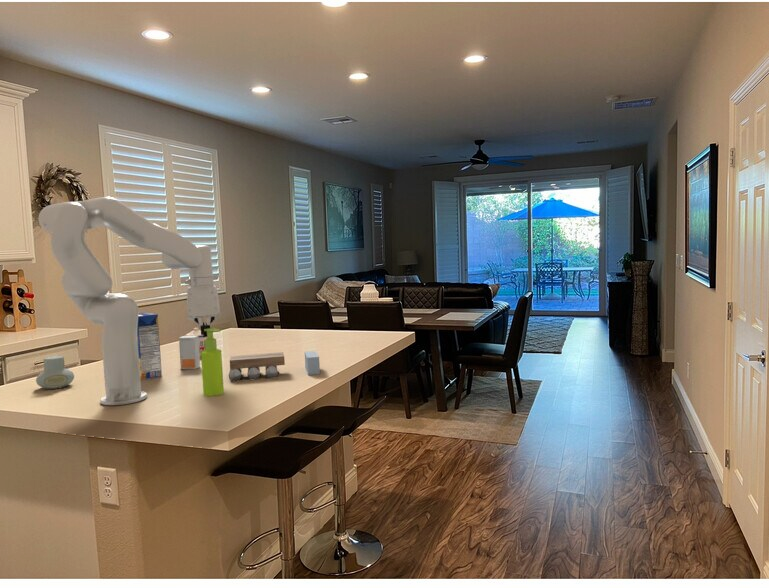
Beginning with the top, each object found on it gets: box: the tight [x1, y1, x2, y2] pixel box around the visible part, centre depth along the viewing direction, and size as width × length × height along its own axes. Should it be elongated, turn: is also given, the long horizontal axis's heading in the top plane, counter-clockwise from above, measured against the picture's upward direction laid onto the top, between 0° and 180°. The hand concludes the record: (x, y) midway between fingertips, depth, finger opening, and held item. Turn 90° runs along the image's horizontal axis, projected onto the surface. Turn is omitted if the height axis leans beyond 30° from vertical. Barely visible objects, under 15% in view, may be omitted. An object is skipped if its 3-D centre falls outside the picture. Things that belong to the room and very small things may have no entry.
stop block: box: [304, 350, 321, 376], centre depth 196 cm, size 12×4×6 cm, turn 13°
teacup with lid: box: [184, 327, 207, 358], centre depth 236 cm, size 12×9×12 cm
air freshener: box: [35, 355, 75, 390], centre depth 185 cm, size 11×8×10 cm
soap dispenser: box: [200, 327, 225, 397], centre depth 168 cm, size 6×7×20 cm
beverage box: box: [137, 312, 163, 380], centre depth 198 cm, size 7×11×22 cm, turn 42°
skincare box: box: [178, 335, 201, 370], centre depth 209 cm, size 6×4×12 cm
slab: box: [229, 351, 286, 370], centre depth 192 cm, size 8×18×3 cm, turn 103°
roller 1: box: [228, 368, 243, 382], centre depth 190 cm, size 11×4×4 cm
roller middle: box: [247, 367, 261, 380], centre depth 192 cm, size 11×4×4 cm
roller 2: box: [264, 366, 279, 379], centre depth 193 cm, size 11×4×4 cm
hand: (206, 336), depth 188 cm, fingers closed
